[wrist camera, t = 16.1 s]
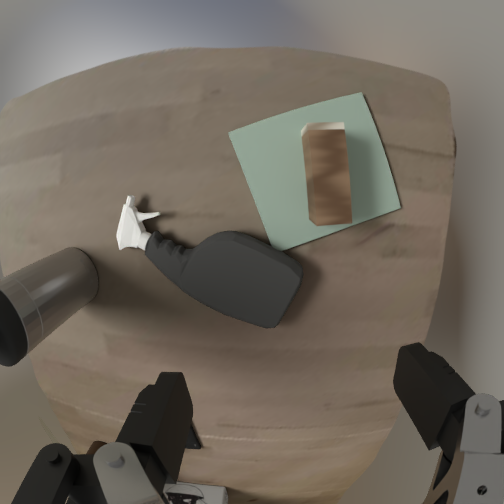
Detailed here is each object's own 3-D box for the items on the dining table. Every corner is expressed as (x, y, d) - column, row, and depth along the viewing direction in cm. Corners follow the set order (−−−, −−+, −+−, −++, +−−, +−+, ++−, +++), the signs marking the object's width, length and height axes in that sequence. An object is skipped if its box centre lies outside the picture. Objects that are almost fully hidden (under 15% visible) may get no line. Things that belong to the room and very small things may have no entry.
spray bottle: (272, 326, 39) (116, 254, 37) (309, 259, 35) (136, 183, 34) (271, 338, 36) (106, 261, 35) (312, 268, 32) (125, 185, 31)
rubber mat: (274, 252, 36) (274, 253, 35) (228, 133, 32) (228, 132, 32) (398, 207, 34) (400, 207, 33) (360, 93, 30) (361, 92, 30)
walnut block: (316, 226, 29) (307, 122, 27) (309, 219, 34) (300, 130, 31) (352, 223, 29) (343, 122, 26) (340, 217, 34) (332, 129, 31)
